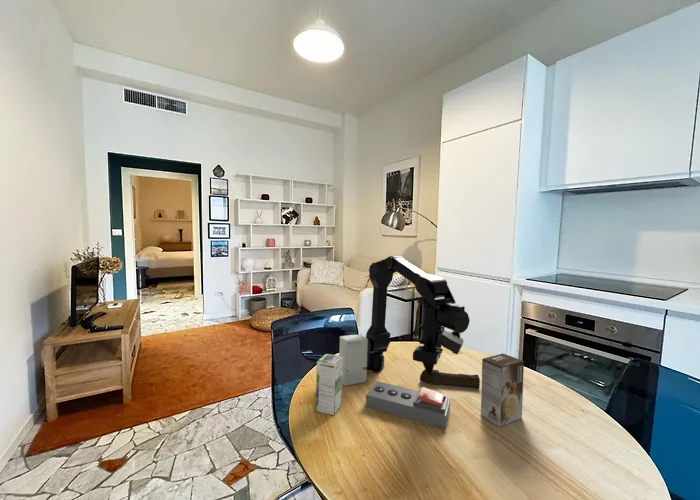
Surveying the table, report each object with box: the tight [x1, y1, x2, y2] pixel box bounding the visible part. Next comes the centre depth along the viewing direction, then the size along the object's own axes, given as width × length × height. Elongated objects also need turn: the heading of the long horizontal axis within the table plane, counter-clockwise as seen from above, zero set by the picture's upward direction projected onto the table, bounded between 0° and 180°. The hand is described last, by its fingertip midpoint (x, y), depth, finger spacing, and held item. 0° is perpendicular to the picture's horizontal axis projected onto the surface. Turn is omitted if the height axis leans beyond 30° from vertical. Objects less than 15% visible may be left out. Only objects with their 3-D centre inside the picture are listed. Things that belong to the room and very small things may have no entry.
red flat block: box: [418, 386, 445, 407], centre depth 82 cm, size 6×5×1 cm
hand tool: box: [419, 369, 481, 390], centre depth 100 cm, size 19×4×5 cm, turn 80°
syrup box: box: [315, 353, 343, 416], centre depth 84 cm, size 6×6×14 cm
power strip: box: [365, 380, 451, 430], centre depth 85 cm, size 22×9×4 cm, turn 65°
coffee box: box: [480, 353, 525, 428], centre depth 82 cm, size 9×6×16 cm
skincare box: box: [338, 334, 368, 387], centre depth 101 cm, size 8×6×15 cm
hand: (429, 374), depth 86 cm, fingers closed
